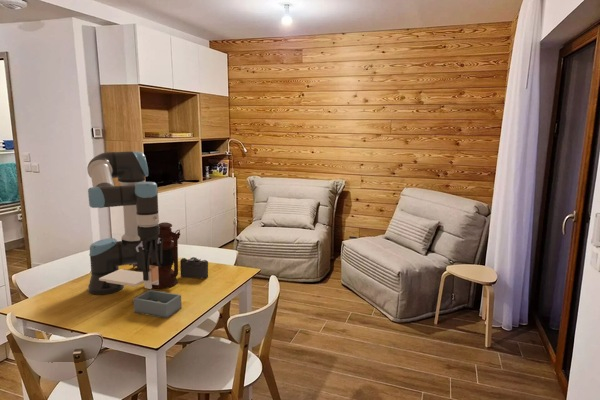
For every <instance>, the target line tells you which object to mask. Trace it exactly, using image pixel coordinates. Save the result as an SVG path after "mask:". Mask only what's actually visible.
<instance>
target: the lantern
mask: <svg viewBox="0 0 600 400" xmlns="http://www.w3.org/2000/svg"><path fill="white" fill-rule="evenodd" d="M158 225H159V230H160V234H159V235H158V238H163V244H162V264H160V265H161V267H159V285H153V284H152V288H154V289H169V288H172V287H175V286H176V285H177V284H178V279H177V276H178V275H179V246H178V245H179V244H178V243H179V239H180V237H181V233H180V232H181V230H180V229H177V230H176V231H175V232H174V231H172V227H173V224H172V223H171V222H159V223H158ZM150 265H152V262H151V257H150ZM172 267H173V269H172Z"/></svg>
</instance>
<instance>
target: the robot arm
mask: <svg viewBox="0 0 600 400" xmlns="http://www.w3.org/2000/svg"><path fill="white" fill-rule="evenodd" d="M87 175H88V176H89V177H90V178H91V184H92V186H91V187H89V188H88V189H87V195H88V204H89V205H88V206H89V207H90V208H91V209H92V208H93V209H96V208H97V209H98V208H99V209H102V208H113V207H123V208H122V210H123V223H124V224H123V225H124V227H123V228H124V234H123V235H122V236H121V240H120V241H119V240H117V239H116V238H114V237H112V238H111V237H110V238H103V239H100V240H97V241H95V242H92V243H91V244H90V246H89V257H90V258H89V259H90V273H91V275H90V279H89V284H88V286H87V287H88V289H87V290H88V293H89V294H92V295H110V294H114V293H116V292H119V291H121V290H122V289H123V288H124V287H125V285H120V284H113V283H107V282H106V281H100V280H99V278H101V277H103V276H105V275H108V274H110V273H112V272H115V271H117V270H119V267H121V266H127V265H128V266H130V265H129V264H137V266H138V269H137V272H143V280H144V283H143V284H144V289H149V290H152V288H153V287H152V281H151V271H149V266H150V257H151V262H152V265H153V266H158V274H159V267H161V265H160V264H162V244H163V238H158V235H159V234H160V230H159V225H158V224H160V218H159V217H160V216H159V200H158V199H159V198H158V196H159V195H158V194H159V191H158V184H157V183H156V182H155V181H146V177H148V176H149V167H148V162H147V158H146V155H145V154H144V153H143V152H142V151H106V152H102V153H99V154H97V155H96V156H94V157H93V158H92V159H90V161H89V163H88V165H87ZM116 178H117V182H118V183H119V184H120V185H115V183H114V180H113V179H116ZM137 266H136V267H137ZM153 285H159V279H158V280H157V282H155V283H153Z"/></svg>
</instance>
